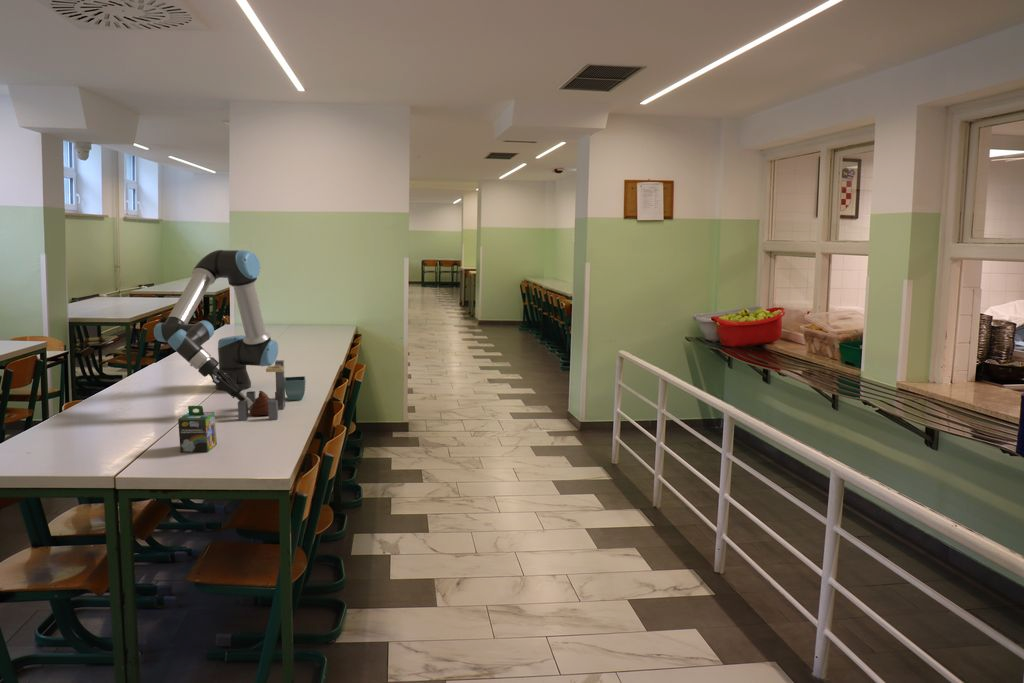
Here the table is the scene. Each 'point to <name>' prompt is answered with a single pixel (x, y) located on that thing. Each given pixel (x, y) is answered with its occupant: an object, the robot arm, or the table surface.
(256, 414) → the poop emoji
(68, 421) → the table surface
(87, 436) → the table surface
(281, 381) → the sight ring stand
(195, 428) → the chalk box
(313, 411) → the table surface
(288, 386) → the flower pot
